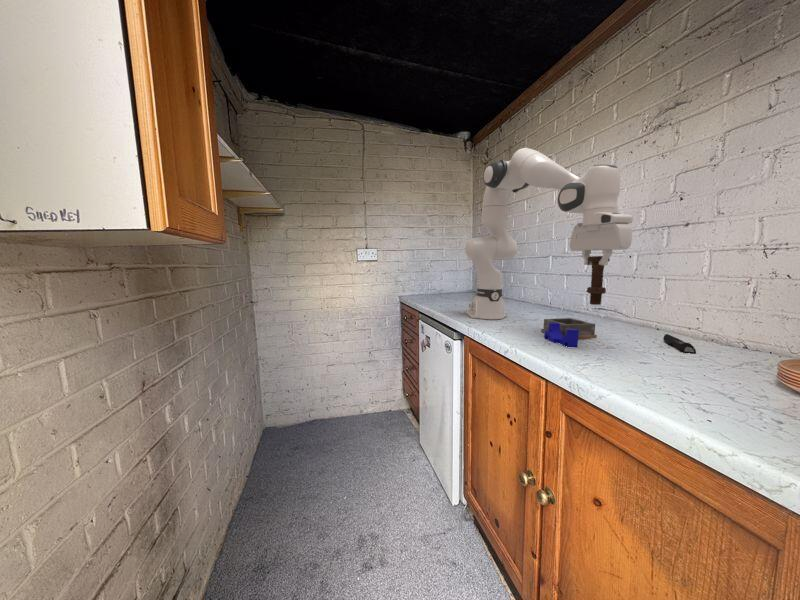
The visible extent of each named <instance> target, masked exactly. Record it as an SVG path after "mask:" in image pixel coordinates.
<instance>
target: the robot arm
mask: <svg viewBox="0 0 800 600" xmlns="http://www.w3.org/2000/svg"><path fill="white" fill-rule="evenodd" d="M482 179H483V183H484V185H485V186H486V187H485V189H484V193H483V194H484V195H483V198H482V209H481V221H480V222H481V225H482V226H483V228H485V229H487V230H488V231H489V233H490V236H477V237H472V238H469V239H468V241H467V242H466V243H465V247H464V252H465V254H466V257H468V259H470V260H471V262H472V263H473V264H474V266H475V268H476V271H477V277H478V278H477V282H478V284H477V285H478V286H477V289H476V294H475V295H476V296H475V297H474V298H473V299H472V301H470V303H468V309H469V310H466V311H465V314H466V315H467V316H468V317H470V318H471V319H482V320H502V319H504V318H507V316H508V315H507V313H506V314H505V300H504V299H503V289H502V287H503V286H502V284H503V273H502V271H500V269H499V268H497V267H495V266H494V264H493V261H504V260H510V259H512V258H515V256H516V255H517V253H518V250H519V247H518V243H517V241H516V240H515V239H514V238H513V237H512V236H511V234H510V233H509V230H508V227H507V209H508V197H509V194H510V193H511V192H512V193H514V194H515V193H517V192H520V191H522V190H523V189H526V188H528V187H529V186H533V187H535V188H536V187H537V188H543V189H544V188H545V189H554V190H559V193H558V196H557V205H558V207H559V210H560V211H562V212H565V213H569V214H570V213H571V214H582V222H578V223H577V224H576V225H575V226H574V227H573V229H572V232H571V236H570V240H569V241H570V242H569V249H570V251H571V252H581V256H582V258H583V264H584V265H585V266H592V262H588V257H591V253H592V251H602V252H601V254H602V256H603V257H602V260H600V261H599V265H604V266H608V263H609V262H608V259H609V258H610V259H611V256H612V255H613V251H614V250H615V251H616V250H617V251H619V250H620V251H621V250H628V249H630V247H631V245H632V241H633V240H632V239H633V227H632V225H631V223H632V222H633V218H634V216H633V215H630V214H626V213H622V212H618V211H619V209H618V208H619V207H618V198H619V196H620V190H621V189H620V188H621V173H620V169H619V167H618V166H616V165H613V164H594V165H592V166H590V167H589V168H588V169H587V171H586V172H585V173H584V174H583V175H582V176H579V175H577V174H576V173H573V172H572V171H569V170H568V169H566V167H563V166H562V165H560V164H558V163H557V162H555V161H554V160H553V159H551V158H550V157H548V156H547V155H545V154H544V153H542V152H540V151H538V150H536V149H532V148H529V147H523V148H520V149H518V150H516V151H515V152H514V153H513V155H512V156H511V158H510V160H504V159H500V160H495V161H493V162H489V164H487V165H486V167H485V168H484V171H483V174H482Z"/></svg>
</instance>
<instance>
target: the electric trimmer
mask: <svg viewBox="0 0 800 600" xmlns="http://www.w3.org/2000/svg"><path fill="white" fill-rule="evenodd" d="M662 339H663V341H664V342H665V343H667V345H669V346H670V345H671V346H670V347H675V348H676V349H678V350H679V351H680V353H682V352H683V353H684V354H688V353H690V355H692V354H693V355H696V354H697V350H696V348H695V346H694V345H693V344H691V343H690V342H686V341H683V340H681V339H680V338H678V337H675V336H673V335H670V334H669V333H665V334H664V336H663V337H662ZM683 353H682V354H683Z"/></svg>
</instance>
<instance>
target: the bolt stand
mask: <svg viewBox="0 0 800 600" xmlns="http://www.w3.org/2000/svg"><path fill="white" fill-rule="evenodd" d="M549 323H560V330H561V333H562V335H563V337H565V335H566V332H567V329H577V330H579V334H578V340H592V339H591V338H596V339H597V336H598V335H597V334H595V332H596V324H595V323H594V322H593V323H592V322H588V321H586V320H581V319H577V318H573V317H563V318H561V317H560V318H544V319H543V328H541V333H543V334H545V331H549Z"/></svg>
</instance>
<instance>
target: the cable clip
mask: <svg viewBox="0 0 800 600" xmlns="http://www.w3.org/2000/svg"><path fill="white" fill-rule="evenodd" d="M578 334H579V330H577V329H567V332H566V335H565V337H563V335H562V333H561V330H560V323H549V331H545V333H544V337H543V338H545V340H546V339H547V341H549V342H551V343H554V344H559V343H560V344H559V345H561V344H562V346H564V345H565V346H564V347H566V346H567V347H566V348H568V347H577V348H579V347H578V345H579V339H578Z"/></svg>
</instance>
